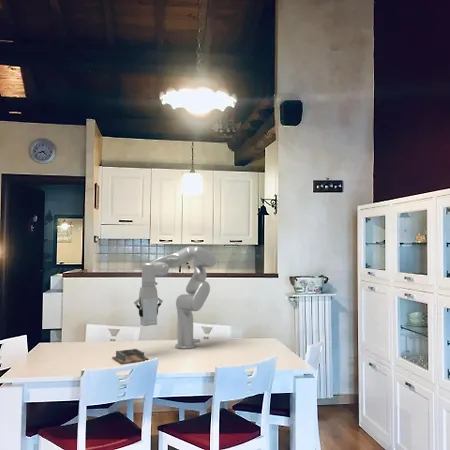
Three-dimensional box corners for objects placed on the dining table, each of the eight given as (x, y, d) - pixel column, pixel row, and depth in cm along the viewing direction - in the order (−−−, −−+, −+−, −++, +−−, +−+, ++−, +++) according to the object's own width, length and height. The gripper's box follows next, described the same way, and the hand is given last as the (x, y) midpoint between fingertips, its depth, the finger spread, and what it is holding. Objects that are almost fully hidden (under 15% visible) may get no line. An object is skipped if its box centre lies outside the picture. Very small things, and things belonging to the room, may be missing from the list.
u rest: (138, 355, 255) (138, 347, 255) (148, 360, 242) (148, 353, 243) (112, 358, 247) (112, 351, 248) (121, 364, 235) (121, 356, 235)
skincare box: (153, 323, 261) (153, 297, 261) (157, 325, 255) (157, 298, 256) (139, 325, 256) (139, 298, 257) (143, 326, 251) (143, 299, 252)
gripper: (160, 283, 265) (160, 313, 264) (131, 285, 256) (131, 316, 255) (165, 284, 258) (165, 315, 258) (136, 286, 249) (136, 318, 248)
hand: (148, 315), depth 256 cm, fingers closed on skincare box, 8 cm apart
